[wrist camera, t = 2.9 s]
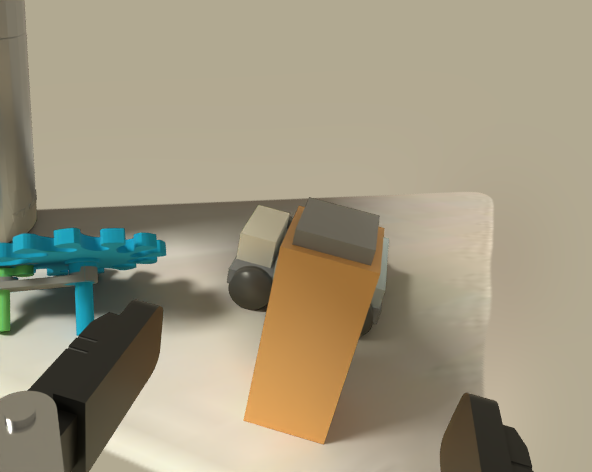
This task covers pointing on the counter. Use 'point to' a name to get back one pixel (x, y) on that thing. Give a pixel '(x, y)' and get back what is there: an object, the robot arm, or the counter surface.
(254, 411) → the orange tower grey cap
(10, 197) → the robot arm
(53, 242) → the gear
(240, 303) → the truck
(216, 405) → the counter surface
